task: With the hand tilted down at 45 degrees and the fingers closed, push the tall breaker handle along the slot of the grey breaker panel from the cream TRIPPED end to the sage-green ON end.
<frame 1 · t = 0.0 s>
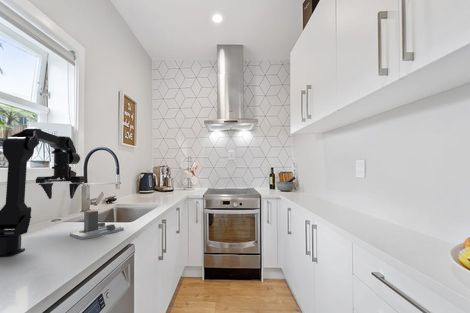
hand: (60, 198, 113), 14 cm above the counter, tool pointing down, fingers open, 9 cm apart
breaker handle: (91, 221, 107), point 6 cm above the counter, slide at 0.0 cm
breaker panel: (98, 232, 110), on the counter
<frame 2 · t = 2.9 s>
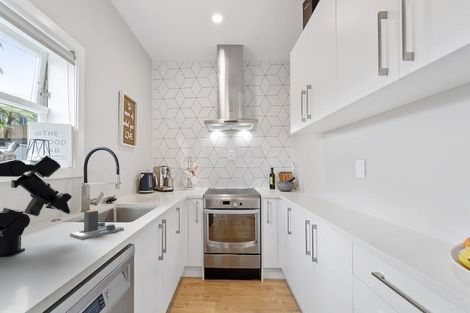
hand: (69, 213, 100), 10 cm above the counter, tool tilted 45°, fingers closed
nothing on the counter moved.
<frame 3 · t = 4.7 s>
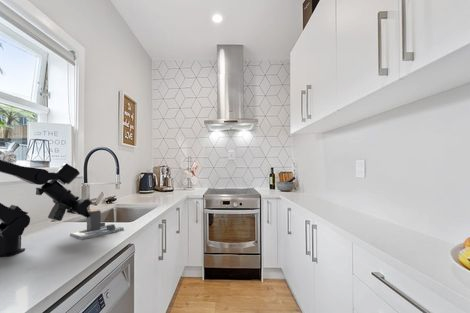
hand: (88, 216, 106), 8 cm above the counter, tool tilted 45°, fingers closed, pressing on breaker handle
breaker handle: (93, 220, 108), point 6 cm above the counter, slide at 1.1 cm, touching gripper
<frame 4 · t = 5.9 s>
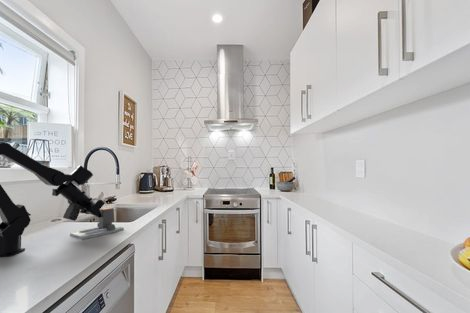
hand: (100, 216, 111), 7 cm above the counter, tool tilted 45°, fingers closed
breaker handle: (105, 218, 113), point 6 cm above the counter, slide at 6.3 cm
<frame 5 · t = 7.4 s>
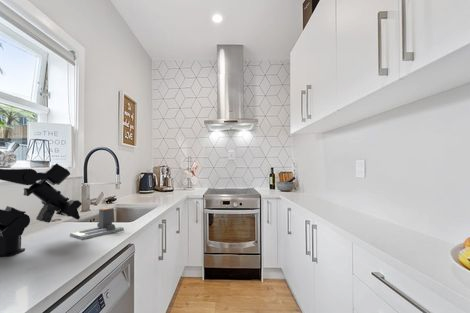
hand: (78, 218, 103), 8 cm above the counter, tool tilted 45°, fingers closed
nothing on the counter moved.
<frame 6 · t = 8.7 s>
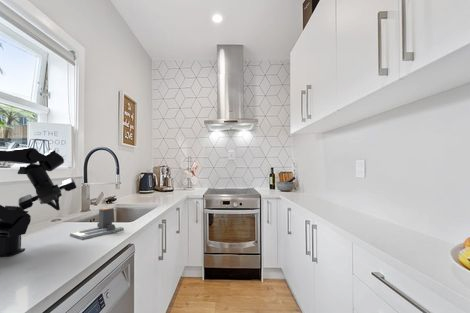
hand: (58, 209, 102), 11 cm above the counter, tool tilted 30°, fingers closed
nothing on the counter moved.
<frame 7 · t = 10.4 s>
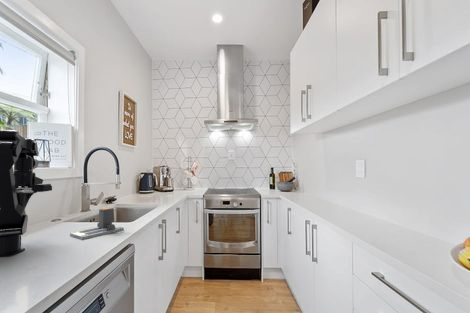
hand: (22, 210, 99), 12 cm above the counter, tool pointing down, fingers closed
nothing on the counter moved.
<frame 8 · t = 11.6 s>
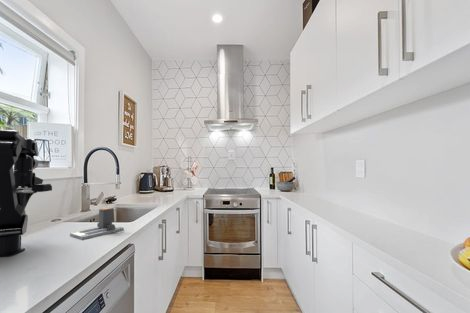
hand: (22, 210, 99), 12 cm above the counter, tool pointing down, fingers closed
nothing on the counter moved.
at the end: breaker handle slide at 6.3 cm; the gripper is holding nothing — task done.
